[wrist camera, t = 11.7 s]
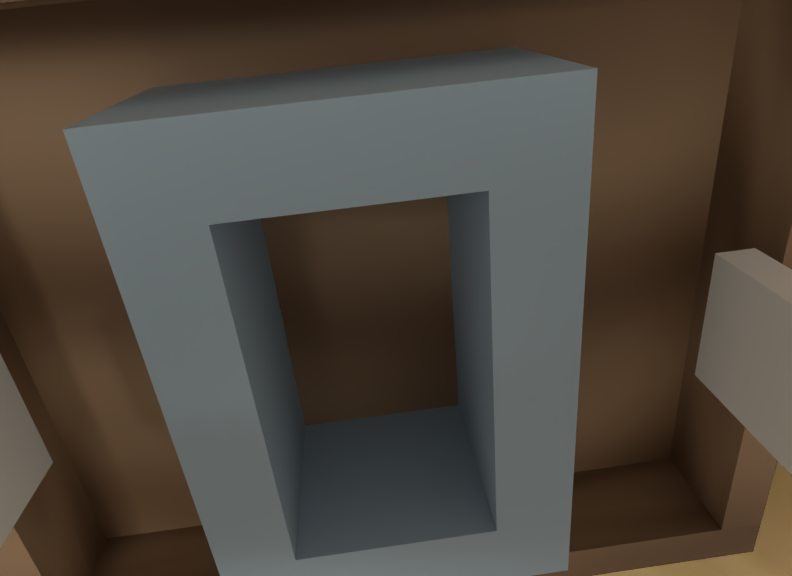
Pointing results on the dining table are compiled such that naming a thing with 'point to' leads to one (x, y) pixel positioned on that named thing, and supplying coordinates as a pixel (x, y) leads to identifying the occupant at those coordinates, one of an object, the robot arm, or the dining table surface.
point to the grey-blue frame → (263, 325)
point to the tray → (402, 261)
